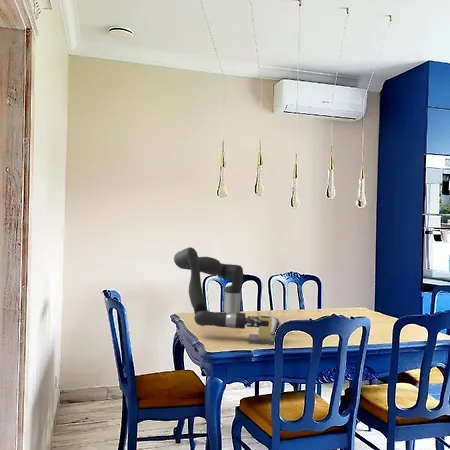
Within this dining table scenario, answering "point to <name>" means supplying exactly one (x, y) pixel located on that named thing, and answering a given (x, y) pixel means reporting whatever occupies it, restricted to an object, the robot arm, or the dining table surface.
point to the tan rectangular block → (265, 328)
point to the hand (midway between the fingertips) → (268, 322)
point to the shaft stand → (260, 340)
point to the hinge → (273, 324)
